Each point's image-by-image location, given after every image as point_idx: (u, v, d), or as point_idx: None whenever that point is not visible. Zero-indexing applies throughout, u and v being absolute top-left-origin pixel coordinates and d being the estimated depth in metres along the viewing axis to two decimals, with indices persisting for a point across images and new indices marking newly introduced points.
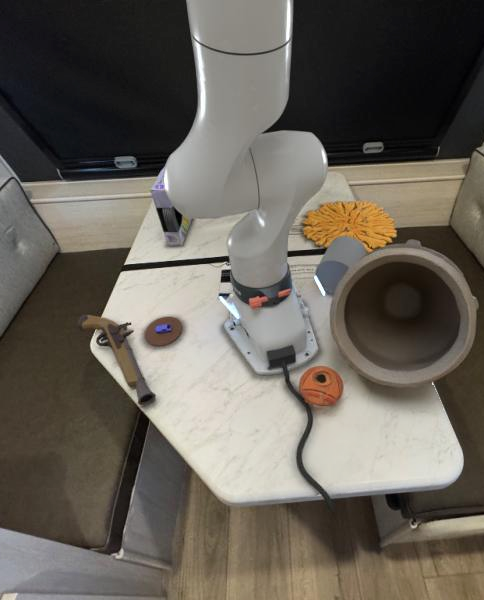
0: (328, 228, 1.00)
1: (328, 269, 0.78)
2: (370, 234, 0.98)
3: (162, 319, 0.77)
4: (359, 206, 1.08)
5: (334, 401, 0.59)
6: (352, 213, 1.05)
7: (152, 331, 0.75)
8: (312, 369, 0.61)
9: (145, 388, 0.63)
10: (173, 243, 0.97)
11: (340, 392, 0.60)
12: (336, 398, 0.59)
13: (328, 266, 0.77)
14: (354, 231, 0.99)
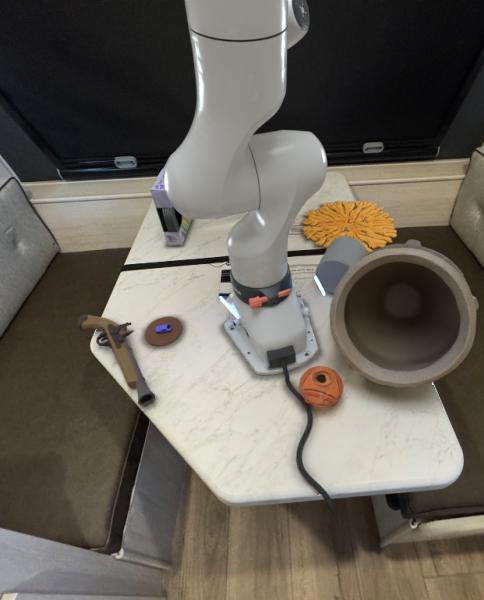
0: (328, 228, 1.00)
1: (328, 269, 0.78)
2: (370, 234, 0.98)
3: (162, 319, 0.77)
4: (359, 206, 1.08)
5: (334, 401, 0.59)
6: (352, 213, 1.05)
7: (152, 331, 0.75)
8: (312, 369, 0.61)
9: (145, 388, 0.63)
10: (173, 243, 0.97)
11: (340, 392, 0.60)
12: (336, 398, 0.59)
13: (328, 266, 0.77)
14: (354, 231, 0.99)
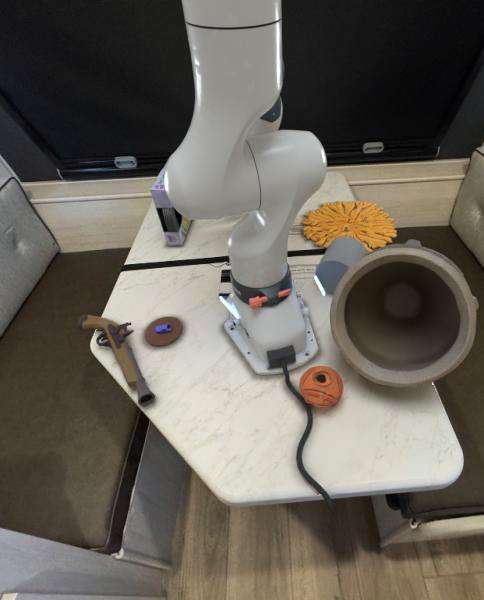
0: (328, 228, 1.00)
1: (328, 269, 0.78)
2: (370, 234, 0.98)
3: (162, 319, 0.77)
4: (359, 206, 1.08)
5: (334, 401, 0.59)
6: (352, 213, 1.05)
7: (152, 331, 0.75)
8: (312, 369, 0.61)
9: (145, 388, 0.63)
10: (173, 243, 0.97)
11: (340, 392, 0.60)
12: (336, 398, 0.59)
13: (328, 266, 0.77)
14: (354, 231, 0.99)
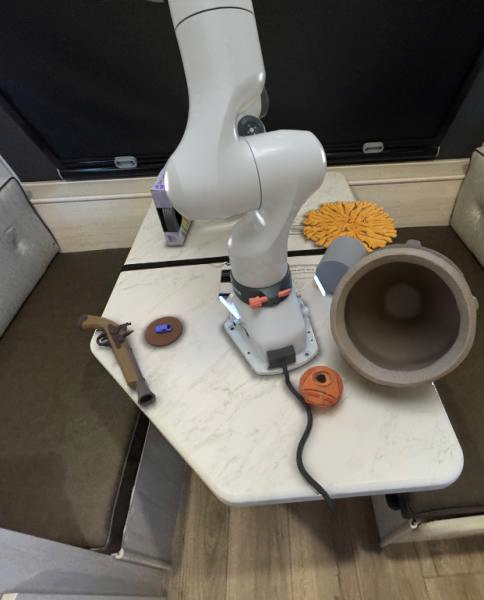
0: (328, 228, 1.00)
1: (328, 269, 0.78)
2: (370, 234, 0.98)
3: (162, 319, 0.77)
4: (359, 206, 1.08)
5: (334, 401, 0.59)
6: (352, 213, 1.05)
7: (152, 331, 0.75)
8: (312, 369, 0.61)
9: (145, 388, 0.63)
10: (173, 243, 0.97)
11: (340, 392, 0.60)
12: (336, 398, 0.59)
13: (328, 266, 0.77)
14: (354, 231, 0.99)
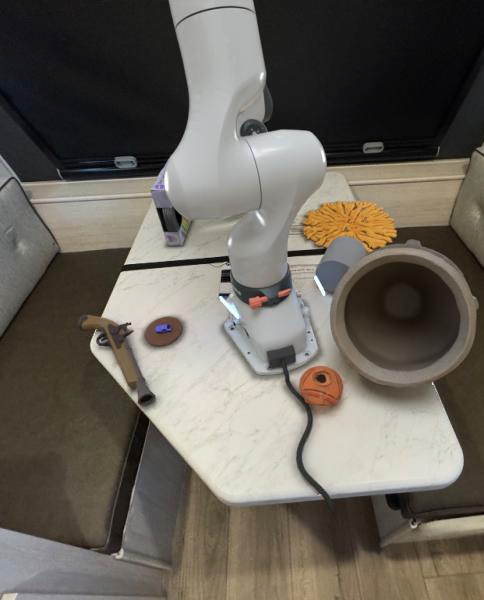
0: (328, 228, 1.00)
1: (328, 269, 0.78)
2: (370, 234, 0.98)
3: (162, 319, 0.77)
4: (359, 206, 1.08)
5: (334, 401, 0.59)
6: (352, 213, 1.05)
7: (152, 331, 0.75)
8: (312, 369, 0.61)
9: (145, 388, 0.63)
10: (173, 243, 0.97)
11: (340, 392, 0.60)
12: (336, 398, 0.59)
13: (328, 266, 0.77)
14: (354, 231, 0.99)
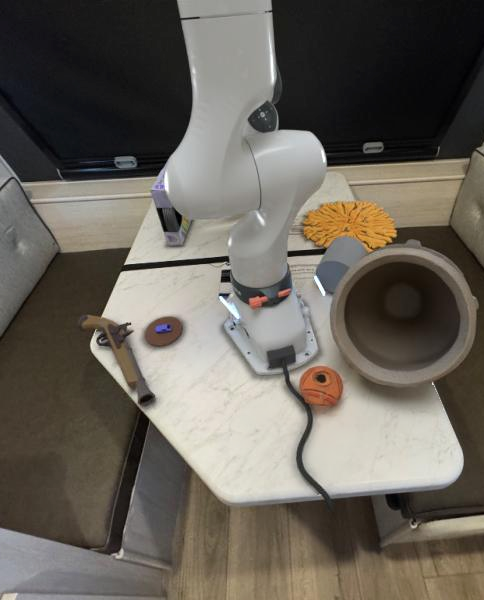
0: (328, 228, 1.00)
1: (328, 269, 0.78)
2: (370, 234, 0.98)
3: (162, 319, 0.77)
4: (359, 206, 1.08)
5: (334, 401, 0.59)
6: (352, 213, 1.05)
7: (152, 331, 0.75)
8: (312, 369, 0.61)
9: (145, 388, 0.63)
10: (173, 243, 0.97)
11: (340, 392, 0.60)
12: (336, 398, 0.59)
13: (328, 266, 0.77)
14: (354, 231, 0.99)
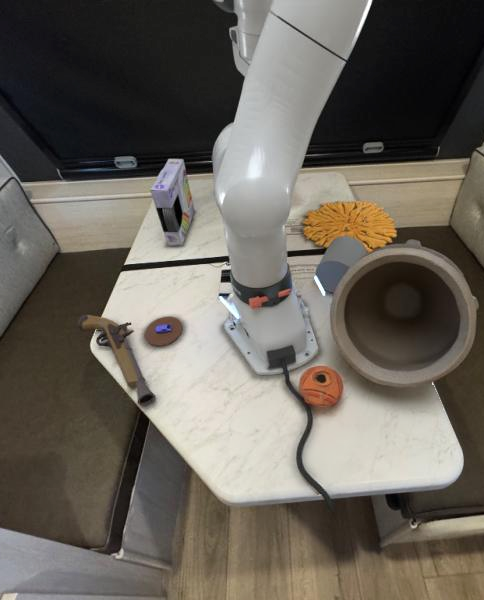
0: (328, 228, 1.00)
1: (328, 269, 0.78)
2: (370, 234, 0.98)
3: (162, 319, 0.77)
4: (359, 206, 1.08)
5: (334, 401, 0.59)
6: (352, 213, 1.05)
7: (152, 331, 0.75)
8: (312, 369, 0.61)
9: (145, 388, 0.63)
10: (173, 243, 0.97)
11: (340, 392, 0.60)
12: (336, 398, 0.59)
13: (328, 266, 0.77)
14: (354, 231, 0.99)
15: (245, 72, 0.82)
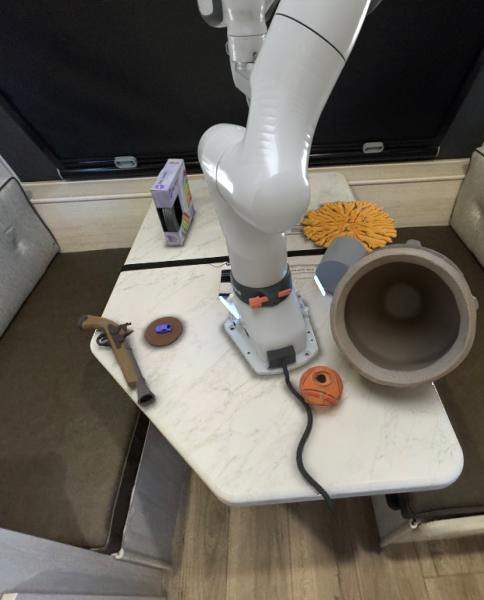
0: (328, 228, 1.00)
1: (328, 269, 0.78)
2: (370, 234, 0.98)
3: (162, 319, 0.77)
4: (359, 206, 1.08)
5: (334, 401, 0.59)
6: (352, 213, 1.05)
7: (152, 331, 0.75)
8: (312, 369, 0.61)
9: (145, 388, 0.63)
10: (173, 243, 0.97)
11: (340, 392, 0.60)
12: (336, 398, 0.59)
13: (328, 266, 0.77)
14: (354, 231, 0.99)
15: (239, 84, 0.85)
